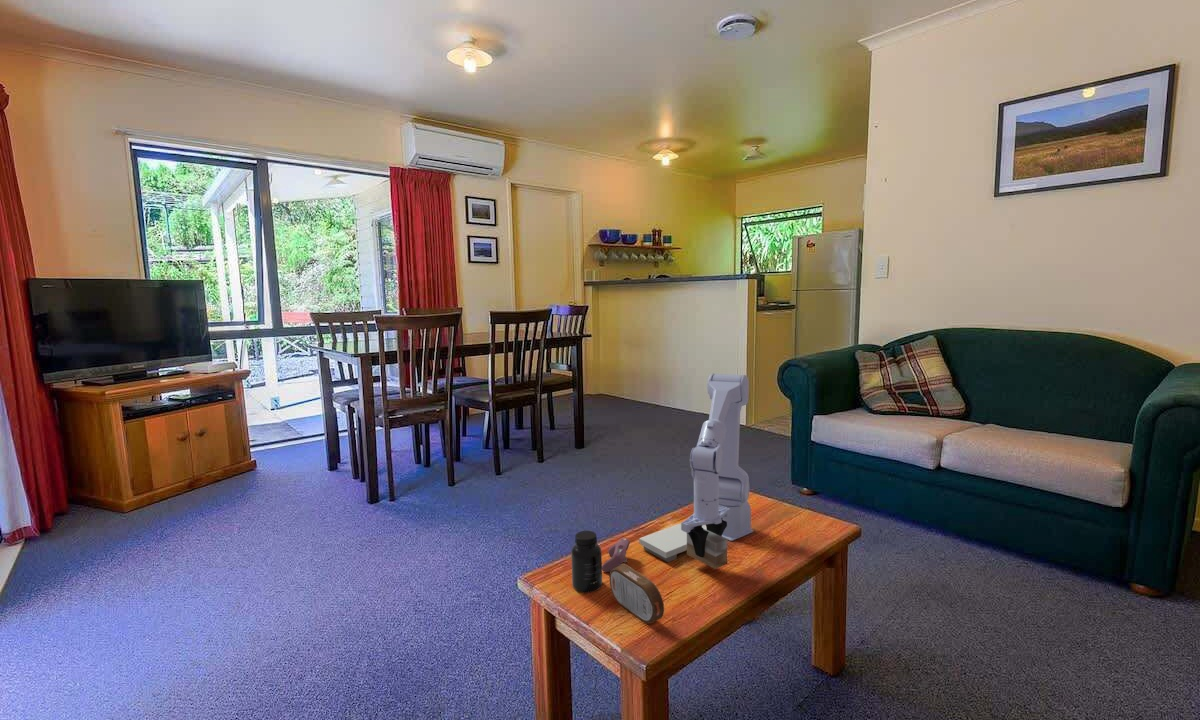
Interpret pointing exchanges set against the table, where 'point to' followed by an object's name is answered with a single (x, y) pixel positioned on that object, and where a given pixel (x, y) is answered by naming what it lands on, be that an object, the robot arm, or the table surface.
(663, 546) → the stand
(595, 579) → the supplement bottle
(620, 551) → the video game controller
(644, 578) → the tin
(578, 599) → the table surface
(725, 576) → the table surface
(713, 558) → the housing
